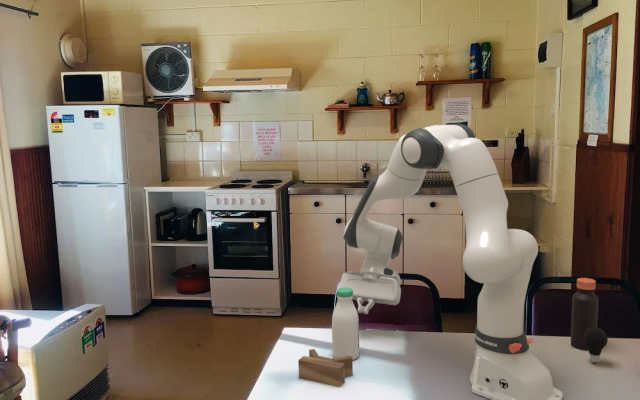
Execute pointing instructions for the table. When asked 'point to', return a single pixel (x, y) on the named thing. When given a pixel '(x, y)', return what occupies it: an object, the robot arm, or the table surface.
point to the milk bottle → (345, 326)
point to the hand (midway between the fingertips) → (362, 312)
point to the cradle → (325, 368)
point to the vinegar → (583, 311)
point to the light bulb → (595, 342)
